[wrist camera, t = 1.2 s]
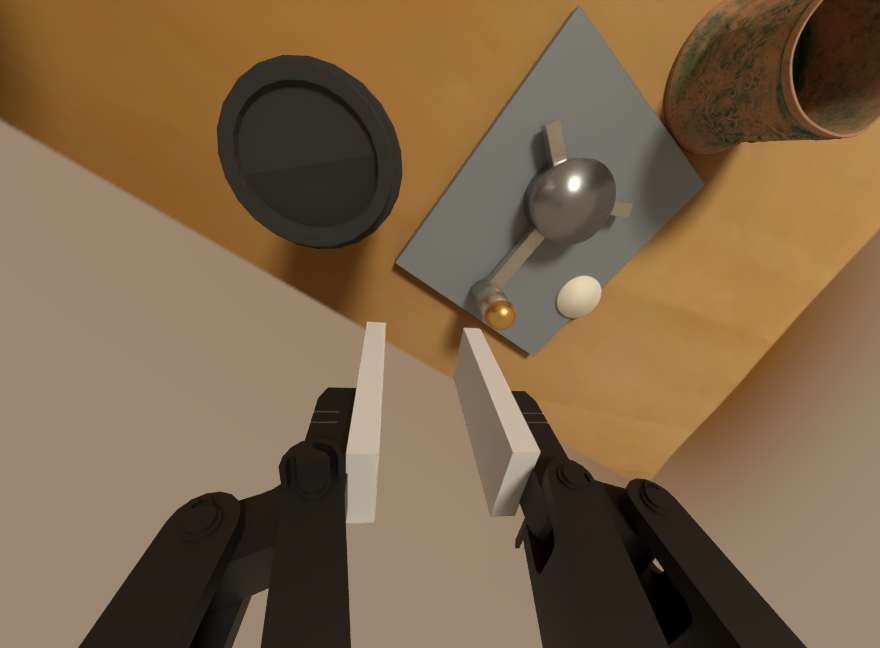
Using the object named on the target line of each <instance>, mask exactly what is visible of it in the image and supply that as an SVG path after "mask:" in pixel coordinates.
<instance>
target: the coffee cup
mask: <svg viewBox="0 0 880 648" xmlns="http://www.w3.org/2000/svg"><path fill="white" fill-rule="evenodd" d="M217 137H218V154H219V157H220V161H221V164H222V168H223V171H224V174H225V178H226V180H227V181H228V183H229V185H230V187H231V188H232V190H233V192H234V194H235V196H236V197H237V199H238V201H239V202H240V203H241V204H242V205H243V206H244V208H245V209H246V210H247V211H248V212H249V213H250V214H251V216H252V217H253V218H254V219H255V220H257V221H258V222H259V223H261V224H262V225H263V226H265V227H266V228H267V229H269V230H270V231H271V232H273V233H274V234H276V235H278V236H280V237H283V238H285V239H287V240H289V241H291V242H293V243H296V244H298V245H303V246H307V247H312V248H317V249H329V248H341V247H344V246H348V245H351V244H354V243H357V242H359V241H361V240H362V239H364V238H365V237H367V236H368V235H370V234H371V233H373V232H374V231H375V230H376V229H377V228H378V227H379V226H380V225H381V224H382V223H383V222H384V220H385V219H386V218H387V217H388V216H389V215H390V213H391V210H392V208H393V206H394V204H395V202H396V200H397V198H398V195H399V190H400V184H401V179H402V160H401V149H400V146H399V142H398V139H397V136H396V132H395V129H394V126H393V124H392V122H391V121H390V119H389V117H388V115H387V113H386V112H385V110H384V108H383V106H382V104H381V103H380V102H379V101H378V100H377V99H376V98H375V96H374V95H373V94H372V93H371V92H370V91H369V90H368V89H367V88H366V86H365V85H364V84H363V83H361V82H360V81H359V80H357V79H356V78H354V77H353V76H351V75H350V74H348V73H347V72H345V71H344V70H342V69H341V68H339V67H337V66H336V65H334V64H331V63H328V62H325V61H322V60H319V59H316V58H313V57H310V56H293V55H281V56H278V57H275V58H272V59H269V60H266V61H262V62H259V63H257V64H256V65H255V66H253V67H252V68H251V69H250V70H248V71H247V72H246V73H245V74H243V75H242V76H241V77H239V78H238V80H237V81H236V83H235V84H234V86H233V88H232V89H231V91H230V93H229V94H228V96H227V98H226V99H225V101H224V102H223V105H222V109H221V113H220V117H219V122H218V126H217Z"/></svg>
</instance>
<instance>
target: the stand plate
mask: <svg viewBox="0 0 880 648" xmlns="http://www.w3.org/2000/svg"><path fill="white" fill-rule="evenodd" d="M557 119H560V122H561V128H562V133H563V139H564V145H565V151H566V157H567V158H591V159H595V160H598V161H600V162H601V163H603V164H604V165H605V166H606V167H607V168H608V169H609V170H610V172H611V173H612V175H613V177H614V181H615V185H616V199H615V201H619V202H626V203H631V204H633V207H632V209H631V212H630V214H629V217H621V216H614V215H610V217H609V218H608V220H607V222H606V223H605V224H604V226H603V227H602V228H601V229H600V230H599V231H598V232H597V233H596V234H595V235H594V236H592V237H591V238H589V239H588V240H586V241H584V242H581V243H579V244H575V245H560V244H557V243H554V242H552V241H551V240H549V239H547V238H545V239H544V240H543V241H542V242H541V243H540V244H539V246H538V247H537V248H536V249H535V250H534V251H533V252H532V254H531V255H530V256H529V257H528V258H527V259H526V260H525V262H524V263H523V264H522V265H521V266H520V267H519V268H518V270H517V271H516V272H515V273H514V274H513V275H512V276H511V278H510V279H509V280H508V281H507V282H506V283H505V284H504V286H503V287H502V288H501V290H502V291H503V293H504V294H505V295H506V296H507V298H508V299H509V300H510V301H511V303H512V304H513V305H514V307H515V309H516V319H515V322H514V323H513V324H512V326H510V327H509V328H507V329H505V330H495V329H494V330H495V331H497V332H498V333H499V334H501V335H502V336H504V337H505V338H507V339H508V340H510V341H511V342H513V343H514V344H516V345H517V346H519V347H520V348H522V349H523V350H525V351H526V352H528V353H529V354H530V355H532V356H533V357H534V356H535V355H536V354H537V353H538V352H539V351H540V350H541V349H542V348H543V347H544V346H545V345H546V344H547V343H548V342H549V341H550V340H551V339H552V338H553V337H554V336H555V335H556V334H557V333H558V332H559V331H560V330H561V329H562V328H563V327H564V326H565V325H566V324H567V323H568V322H569V321H570V320H571V319H572V318H579V317H582V316H584V315H586V314H588V313H589V312H591V311H592V310H593V309H594V308H595V307H596V305H597V304H598V302H599V300H600V297H601V289H602V288H603V287H604V286H605V285H606V284H607V283H608V282H609V281H610V280H611V279H612V278H613V277H614V276H615V275H616V274H617V273H618V272H619V271H620V270H621V269H622V268H623V267H624V266H625V265H626V264H627V263H628V262H629V261H630V260H631V259H632V258H633V257H634V256H635V255H636V254H637V253H638V252H639V251H640V250H641V249H642V248H643V247H644V246H645V245H646V244H647V243H648V242H649V241H650V240H651V239H652V238H653V237H654V236H655V235H656V234H657V233H658V232H659V231H660V230H661V229H662V228H663V227H664V226H665V225H666V224H667V223H668V222H669V221H670V220H671V219H672V218H673V217H674V216H675V215H676V214H677V213H678V212H679V211H680V210H681V209H682V208H683V207H684V206H685V205H686V204H687V203H688V202H689V201H690V200H691V199H692V198H693V197H694V196H695V195H696V194H697V193H698V192H699V191H700V190H701V189H702V188H703V187H704V186H705V184H704V182H703V181H702V179H701V178H700V176H699V175H698V174H697V172H696V171H695V169H694V168H693V166H692V165H691V164H690V162H689V161H688V159H687V158H686V156H685V155H684V154H683V152H682V151H681V149H680V148H679V146H678V145H677V144H676V142H675V141H674V139H673V138H672V137H671V135H670V134H669V132H668V131H667V129H666V128H665V127H664V125H663V124H662V122H661V121H660V119H659V118H658V117H657V115H656V114H655V112H654V111H653V109H652V108H651V107H650V105H649V104H648V102H647V101H646V99H645V98H644V97H643V95H642V94H641V92H640V91H639V89H638V88H637V87H636V85H635V84H634V82H633V81H632V79H631V78H630V77H629V75H628V74H627V72H626V71H625V69H624V68H623V67H622V65H621V64H620V62H619V61H618V59H617V58H616V57H615V55H614V54H613V52H612V51H611V49H610V48H609V47H608V45H607V44H606V42H605V41H604V39H603V38H602V37H601V35H600V34H599V32H598V31H597V29H596V28H595V27H594V25H593V24H592V22H591V21H590V19H589V18H588V17H587V15H586V14H585V12H584V11H583V9H582V8H581V7H580V5H579V6H578V7H577V8H576V9H574V10H573V11H572V12H571V13H570V15H569V16H568V18H567V19H566V20H565V22H564V23H563V25H562V26H561V27H560V29H559V30H558V32H557V33H556V34H555V36H554V37H553V39H552V40H551V41H550V43H549V44H548V46H547V47H546V48H545V50H544V51H543V53H542V54H541V55H540V57H539V58H538V60H537V61H536V62H535V64H534V65H533V67H532V68H531V70H530V71H529V72H528V74H527V75H526V77H525V78H524V79H523V81H522V82H521V84H520V85H519V86H518V88H517V89H516V91H515V92H514V93H513V95H512V96H511V98H510V99H509V100H508V102H507V103H506V105H505V106H504V107H503V109H502V110H501V112H500V113H499V114H498V116H497V117H496V119H495V120H494V121H493V123H492V124H491V126H490V127H489V129H488V130H487V131H486V133H485V134H484V136H483V137H482V138H481V140H480V141H479V143H478V144H477V145H476V147H475V148H474V150H473V151H472V152H471V154H470V155H469V157H468V158H467V159H466V161H465V162H464V164H463V165H462V166H461V168H460V169H459V171H458V172H457V173H456V175H455V176H454V178H453V179H452V181H451V182H450V183H449V185H448V186H447V188H446V189H445V190H444V192H443V193H442V195H441V196H440V197H439V199H438V200H437V202H436V203H435V204H434V206H433V207H432V209H431V210H430V211H429V213H428V214H427V216H426V217H425V218H424V220H423V221H422V223H421V224H420V225H419V227H418V228H417V230H416V231H415V233H414V234H413V235H412V237H411V238H410V240H409V241H408V242H407V244H406V245H405V247H404V248H403V249H402V251H401V252H400V254H399V255H398V256H397V258H396V259H395V263H396V264H398V265H399V266H400V267H402V268H403V269H405V270H406V271H408V272H409V273H411V274H412V275H414V276H415V277H417V278H418V279H420V280H421V281H423V282H424V283H426V284H427V285H429V286H430V287H432V288H433V289H434V290H436V291H437V292H439V293H440V294H442V295H443V296H445V297H446V298H448V299H449V300H451V301H452V302H454V303H455V304H457V305H458V306H460V307H461V308H463V309H464V310H465V311H467V312H468V313H470V314H471V315H473V316H474V317H476V318H477V319H479V320H480V321H482V322H483V323H485V324H486V325H488V324H487V323H486V321H485V319H484V317H483V316H482V314H481V312H480V310H479V308H478V306H477V305H476V303H475V301H474V299H473V297H472V294H471V291H472V287H473V285H474V284H475V283H476V282H477V281H479V280H480V279H484V278H488V277H489V276H490V275H491V274H492V272H493V271H494V270H495V269H496V268H497V266H498V265H499V264H500V263H501V262H502V261H503V259H504V258H505V257H506V256H507V255H508V253H509V252H510V251H511V250H512V249H513V248H514V246H515V245H516V244H517V243H518V242H519V240H520V239H521V238H522V237H523V236H524V234H525V233H526V232H527V231H528V230H529V229H530V225H529V224H528V222H527V220H526V216H525V212H524V199H525V194H526V191H527V188H528V186H529V184H530V182H531V180H532V179H533V177H534V176H535V175H536V173H537V172H538V171H539V170H540V169H541V168H542V167H544V166H545V165H547V164H548V160H547V155H546V150H545V145H544V140H543V135H542V130H541V126H543V125H545V124H547V123H549V122H551V121H554V120H557ZM488 326H489V325H488ZM489 327H490V326H489ZM492 329H493V328H492Z"/></svg>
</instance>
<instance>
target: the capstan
mask: <svg viewBox="0 0 880 648" xmlns="http://www.w3.org/2000/svg"><path fill="white" fill-rule="evenodd" d="M541 130H542V135H543V140H544V145H545V150H546V155H547V160H548V164H547V165H545V166H544V167H542V168H541V169H540V170H539V171H538V172H537V173H536V175H535V176H534V177H533V179H532V180H531V182H530V184H529V186H528V188H527V191H526V194H525V199H524V212H525V216H526V220H527V222H528V224H529V225H530V229H529V230H528V231H527V232H526V233H525V234H524V236H523V237H522V238H521V239H520V240H519V242H518V243H517V244H516V245H515V246H514V248H513V249H512V250H511V251H510V252H509V253H508V255H507V256H506V257H505V258H504V259H503V261H502V262H501V263H500V264H499V265H498V266H497V268H496V269H495V270H494V271H493V272H492V274H491V275H490V276H489V277H488V278H484V279H480V280H479V281H477V282H476V283H475V284H474V285H473V287H472V291H471V294H472V297H473V299H474V301H475V303H476V305H477V306H478V308H479V310H480V312H481V314H482V316H483V317H484V319H485V321H486V323H487V324H488V325H489V326H490V327H491V328H493V329H495V330H505V329H507V328H509V327H510V326H512V324H513V323H514V322H515V319H516V309H515V307H514V305H513V304H512V303H511V301H510V300H509V299H508V298H507V296H506V295H505V294H504V293H503V291H502V290H501V288H502V287H503V286H504V284H505V283H506V282H507V281H508V280H509V279H510V278H511V276H512V275H513V274H514V273H515V272H516V271H517V270H518V268H519V267H520V266H521V265H522V264H523V263H524V262H525V260H526V259H527V258H528V257H529V256H530V255H531V254H532V252H533V251H534V250H535V249H536V248H537V247H538V246H539V244H540V243H541V242H542V241H543V240H544V239H545V238H547V239H549V240H551V241H552V242H554V243H557V244H560V245H575V244H579V243H581V242H584V241H586V240H588V239H589V238H591V237H592V236H594V235H595V234H596V233H597V232H598V231H599V230H600V229H601V228H602V227H603V226H604V224H605V223H606V222H607V220H608V218H609V217H610V215H614V216H621V217H629V214H630V212H631V209H632V207H633V204H631V203H626V202H619V201H615V199H616V185H615V181H614V177H613V175H612V173H611V172H610V170H609V169H608V168H607V167H606V166H605V165H604V164H603V163H601V162H600V161H598V160H595V159H591V158H567V157H566V151H565V145H564V139H563V133H562V128H561V122H560V119H557V120H554V121H551V122H549V123H547V124H545V125H543V126H541Z"/></svg>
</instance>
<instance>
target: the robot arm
mask: <svg viewBox="0 0 880 648" xmlns="http://www.w3.org/2000/svg"><path fill="white" fill-rule="evenodd" d="M385 330H386V323H378V322H367V327H366V333H365V340H364V345H363V352H362V358H361V364H360V371H359V376H358V382H357V388H327V389H326V390H325V391H324V393H322V395H321V396H320V397H319V398H318V400H317V404H316V407H315V410H314V413H313V416H312V419H311V423H310V426H309V429H308V433H307V435H306V439H305V441H302V442H300V443H298V444H296V445H295V446H293V447H291V448H290V449H289V450H288V451H287V453H286V454H285V455H284V456H283V457H282V460H281V462H280V464H279V473H280V480H281V485H279V486H277V487H276V488H274V489H272V490H270V491H267V492H265V493H262V494H259V495H256V496H252V497H249V498H246V499H243V500H240V501H238V500H237V499H236V498H235V497H234V496H233V495H232V494H228V493H224V492H214V493H207V494H204V495H202V496H199V497H197V498H195V499H192V500H190V501H189V502H188V503H187V504H185V505H183V506H182V507H180V508H179V509H178V510H177V511H176V512H175V513H174V514H173V515H172V516H171V517H170V518H169V519H168V521H167V522H166V523H165V524H164V526H163V527H162V528H161V530H160V531H159V533H158V534H157V536H156V537H155V539H154V540H153V541H152V543H151V544H150V546H149V547H148V549H147V550H146V551H145V553H144V554H143V556H142V557H141V559H140V560H139V562H138V563H137V564H136V566H135V567H134V569H133V570H132V571H131V573H130V574H129V576H128V577H127V579H126V580H125V582H124V583H123V584H122V586H121V587H120V589H119V590H118V592H117V593H116V594H115V596H114V598H113V599H112V600H111V602H110V603H109V605H108V606H107V607H106V609H105V610H104V612H103V613H102V615H101V616H100V617H99V619H98V620H97V622H96V623H95V625H94V626H93V628H92V629H91V630H90V632H89V633H88V635H87V636H86V638H85V639H84V641H83V642H82V643H81V645H80V646H79V648H232V646H233V643H234V641H235V638H236V635H237V633H238V630H239V628H240V625H241V622H242V620H243V617H244V614H245V612H246V609H247V607H248V604H249V601H250V599H251V596H252V595H254V594H256V593H258V592H261V591H263V590H265V589H268V588H269V591H268V599H267V606H266V613H265V620H264V628H263V635H262V642H261V648H351V639H350V617H349V616H350V615H349V590H348V566H347V542H346V524H350V523H371V522H375V508H376V493H377V479H378V478H377V477H378V464H379V448H380V429H381V408H382V389H383V369H384V350H385ZM454 381H455V385H456V388H457V392H458V396H459V400H460V403H461V407H462V411H463V415H464V418H465V422H466V426H467V429H468V434H469V437H470V441H471V445H472V448H473V452H474V456H475V460H476V464H477V468H478V471H479V475H480V479H481V482H482V486H483V490H484V494H485V498H486V501H487V505H488V509H489V513H490V516H491V517H494V516H514V515H515V514H516V511H517V509H518V506H519V504H520V505H521V508H522V511H523V513H524V516H525V519H524V521H523V524H522V526H521V528H520V530H519V533H518V535H517V537H516V541H515V548H519V547H520V545H521V543H522V541H524V549H525V552H526V558H527V563H528V569H529V574H530V580H531V585H532V591H533V596H534V602H535V607H536V613H537V618H538V624H539V629H540V635H541V640H542V645H543V648H807V647H805V645H804V644H803V643H802V642H801V641H800V640H799V638H798V637H797V636H796V635H795V634H794V633H793V632H792V630H791V629H790V628H789V627H788V626H787V625H786V624H785V623H784V621H783V620H782V619H781V618H780V617H779V616H778V615H777V613H775V611H774V610H773V609H772V608H771V607H770V606H769V604H768V603H767V602H766V601H765V600H764V599H763V597H761V595H760V594H759V593H758V592H757V591H756V590H755V589H754V588H753V586H752V585H751V584H750V583H749V582H748V580H747V579H746V578H745V577H744V576H743V575H742V574H741V573H740V571H739V570H738V569H737V568H736V567H735V566H734V565H733V564H732V562H731V561H730V560H729V559H728V558H727V557H726V556H725V554H724V553H723V552H722V551H721V550H720V549H719V548H718V546H717V545H716V544H715V543H714V542H713V541H712V540H711V538H710V537H709V536H708V535H707V534H706V533H705V532H704V531H703V529H701V527H700V526H699V525H698V524H697V523H696V522H695V520H694V519H693V518H692V517H691V516H690V515H689V514H688V512H687V511H686V510H685V509H684V508H683V507H682V506H681V505H680V503H679V502H678V501H677V500H676V499H675V498H674V497H673V496H672V495H671V494H670V493H669V492H668V491H667V490H665V489H664V488H662V487H661V486H659V485H657V484H656V483H653V482H651V481H648V480H646V479H637V478H636V479H634V480H631V481H630V482H629V483H628V485H627V487H626V488H625V489H624V488H621V487H617V486H613V485H610V484H606V483H602V482H599V481H596V480H594V478H593V477H592V475H591V474H590V473H589V472H588V471H587V470H586V469H585V468H584V467H583V466H582V465H580V464H578V463H576V462H574V461H573V460H569V458H568V457H567V455H566V453H565V452H564V450H563V448H562V446H561V445H560V443H559V441H558V439H557V438H556V436H555V434H554V432H553V431H552V429H551V427H550V425H549V424H547V420H546V418H545V417H544V415H543V414H542V411H541V410H540V408H539V406H538V404H537V403H536V401H535V400H534V399H533V398H532V397H531V396H529V395H528V394H527V393H526V392H525V391H511V390H510V388H509V386H508V384H507V382H506V380H505V378H504V376H503V374H502V372H501V370H500V368H499V366H498V364H497V362H496V360H495V358H494V356H493V354H492V352H491V350H490V348H489V346H488V344H487V342H486V340H485V338H484V336H483V334H482V331H481V329H477V328H463V333H462V338H461V343H460V348H459V353H458V358H457V363H456V369H455V374H454ZM655 558H656V559H657V561H658V562H659V564H660V565H661V566H662V568H663V569H664V571H661V570H660V569H658V568H657V567H656V566H655V564H654V563H653V560H654V559H655Z"/></svg>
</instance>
